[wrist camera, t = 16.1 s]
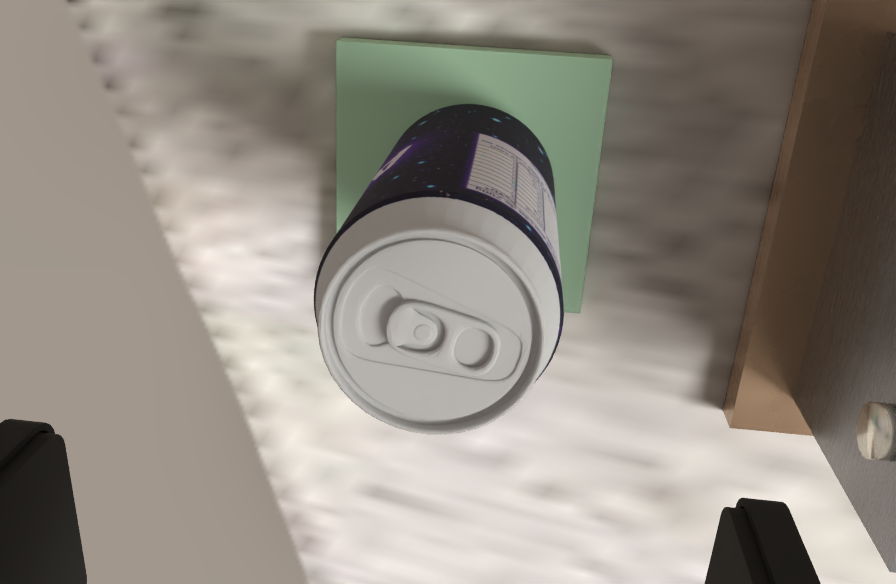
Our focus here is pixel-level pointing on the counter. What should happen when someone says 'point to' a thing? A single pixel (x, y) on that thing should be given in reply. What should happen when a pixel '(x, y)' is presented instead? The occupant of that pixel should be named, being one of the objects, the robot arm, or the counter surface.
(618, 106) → the counter surface
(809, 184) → the mounted unit
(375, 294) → the beverage can
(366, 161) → the sage mat
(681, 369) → the counter surface
